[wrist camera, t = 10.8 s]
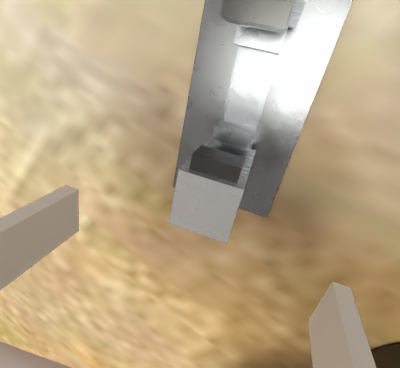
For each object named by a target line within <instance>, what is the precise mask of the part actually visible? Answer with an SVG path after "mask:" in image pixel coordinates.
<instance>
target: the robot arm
mask: <svg viewBox="0 0 400 368" xmlns="http://www.w3.org/2000/svg"><path fill="white" fill-rule="evenodd" d="M78 231H79V205H78V189H76V188H73V187H70V186H67V185H65V186H63V187H61V188H59V189H57V190H55V191H53V192H51V193H49V194H47V195H45V196H43V197H41V198H39V199H38V200H36V201H34V202H32V203H30V204H28V205H26V206H24V207H22V208H20V209H18V210H16V211H14V212H12V213H10V214H8V215H6V216H4V217H2V218H0V290H1V289H3V288H4V287H5V286H7V285H8V284H9V283H11V282H12V281H13V280H15V279H16V278H17V277H19V276H20V275H21V274H22V273H24V272H25V271H26V270H28V269H29V268H30V267H32V266H33V265H34V264H36V263H37V262H38V261H40V260H41V259H42V258H43V257H45V256H46V255H47V254H49V253H50V252H51V251H53V250H54V249H55V248H57V247H58V246H59V245H61V244H62V243H63V242H65V241H66V240H67V239H68V238H70V237H71V236H72V235H74V234H75V233H76V232H78ZM308 327H309V337H310V346H311V355H312V364H313V368H400V344H395V345H390V346H386V347H382V348H379V349H376V350H373V351H371V349H370V346H369V343H368V340H367V337H366V334H365V331H364V328H363V325H362V322H361V319H360V316H359V313H358V310H357V307H356V303H355V300H354V297H353V294H352V291H351V288H350V287H347V286H344V285H341V284H339V283H336V282H333V281H332V283H331V284H330V286H329V287H328V289H327V291H326V292H325V294H324V296H323V297H322V299H321V300H320V302H319V304H318V305H317V307H316V309H315V310H314V312H313V313H312V315H311V317H310V318H309V320H308Z"/></svg>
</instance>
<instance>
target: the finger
mask: <svg viewBox="0 0 400 368" xmlns="http://www.w3.org/2000/svg"><path fill="white" fill-rule="evenodd" d="M211 138H212V137H211ZM211 138H210V139H209V140H208V141H207V142H206V143H205V144H204V145H201V146H200V147H199V148H198V149H197V150H196V151H195V152H194V153H193V154H192V157H191V158H190V159H189V160H188V161H187V162H186V163H185V164H184V165H183V166H182V167H181V168H180V169H179V170H178V176H177V181H176V187H175V192H174V198H173V203H172V209H171V215H170V220H169V223H170V224H172V225H175V226H178V227H181V228H184V229H186V230H189V231H192V232H195V233H198V234H201V235H203V236H206V237H209V238H212V239H215V240H218V241H220V242H223V243H226V244H227V241H228V238H229V235H230V232H231V229H232V226H233V223H234V220H235V217H236V214H237V210H238V207H239V204H240V201H241V198H242V195H243V192H244V189H245V186H246V182H247V179H248V175H249V172H250V168H251V165H252V162H253V158H254V155H255V151H256V150H253V149H246V148H243V147H239V146H236V145H232V144H229V143H225V142H222V141H218V140H215V139H211Z"/></svg>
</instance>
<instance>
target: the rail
mask: <svg viewBox="0 0 400 368" xmlns="http://www.w3.org/2000/svg"><path fill="white" fill-rule="evenodd" d="M352 1H353V0H205V4H204V10H203V16H202V22H201V27H200V33H199V39H198V45H197V51H196V56H195V62H194V68H193V74H192V80H191V86H190V91H189V97H188V103H187V109H186V115H185V120H184V126H183V132H182V138H181V144H180V149H179V155H178V161H177V167H176V173H175V178H174V184H173V187H176V181H177V176H178V170H179V169H180V168H181V167H182V166H183V165H184V164H185V163H186V162H187V161H188V160H189V159H190V158H191V157H192V154H193V153H194V152H195V151H196V150H197V149H198V148H199V147H200V146H201V145H204V144H205V143H206V142H207V141H208V140H209V139H210V138H211V137H212V138H211V139H215V140H218V141H222V142H225V143H229V144H232V145H236V146H239V147H243V148H246V149H253V150H256V151H255V155H254V158H253V162H252V165H251V168H250V172H249V175H248V179H247V182H246V186H245V189H244V192H243V195H242V198H241V201H240V204H239V207H238V208H240V209H243V210H246V211H249V212H252V213H256V214H259V215H262V216H265V217H267V215H268V213H269V210H270V208H271V205H272V203H273V200H274V198H275V195H276V193H277V190H278V188H279V185H280V183H281V180H282V178H283V175H284V172H285V170H286V167H287V165H288V162H289V160H290V157H291V155H292V152H293V150H294V147H295V145H296V142H297V140H298V137H299V135H300V132H301V130H302V127H303V125H304V122H305V119H306V117H307V114H308V112H309V109H310V107H311V104H312V102H313V99H314V97H315V94H316V92H317V89H318V87H319V84H320V82H321V79H322V77H323V74H324V72H325V69H326V66H327V64H328V61H329V59H330V56H331V54H332V51H333V49H334V46H335V44H336V41H337V39H338V36H339V34H340V31H341V29H342V26H343V24H344V21H345V18H346V16H347V13H348V11H349V8H350V6H351V3H352Z"/></svg>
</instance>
